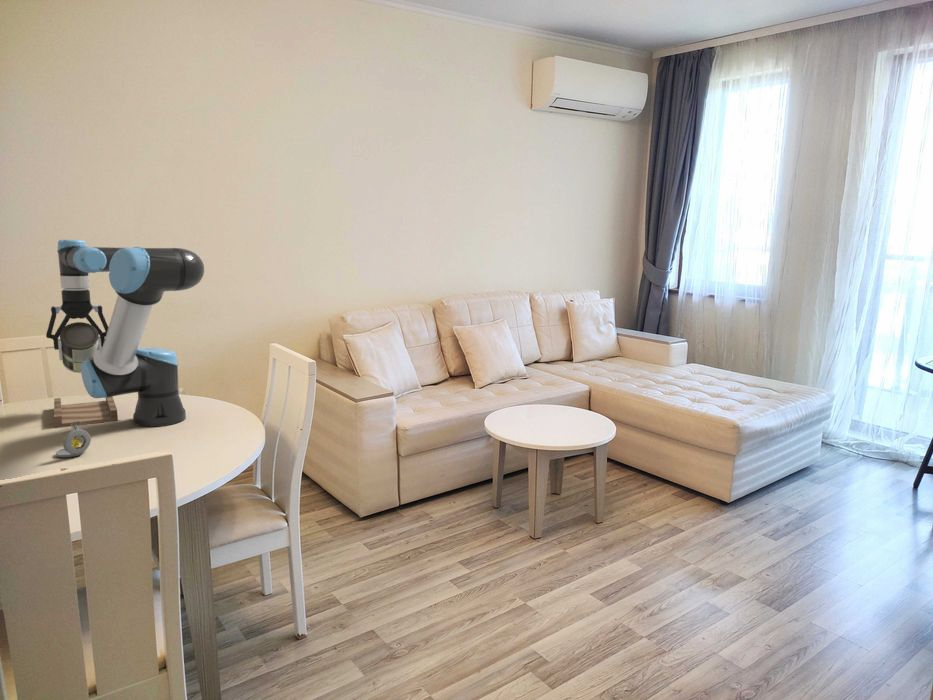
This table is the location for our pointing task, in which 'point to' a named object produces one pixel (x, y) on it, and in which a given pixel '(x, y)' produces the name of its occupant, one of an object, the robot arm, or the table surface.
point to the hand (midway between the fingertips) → (81, 358)
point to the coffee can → (78, 344)
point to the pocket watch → (75, 442)
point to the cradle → (84, 412)
